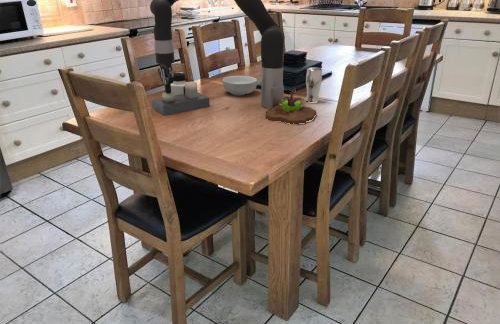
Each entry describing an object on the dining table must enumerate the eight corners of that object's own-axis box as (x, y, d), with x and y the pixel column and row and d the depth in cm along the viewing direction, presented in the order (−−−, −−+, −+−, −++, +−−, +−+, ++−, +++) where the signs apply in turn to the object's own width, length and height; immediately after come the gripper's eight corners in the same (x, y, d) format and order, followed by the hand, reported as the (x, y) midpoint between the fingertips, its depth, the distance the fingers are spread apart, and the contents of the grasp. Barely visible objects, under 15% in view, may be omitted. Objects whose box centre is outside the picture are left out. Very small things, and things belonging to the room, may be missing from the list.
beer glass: (302, 102, 184) (304, 69, 178) (307, 98, 190) (309, 66, 184) (317, 104, 182) (319, 71, 175) (322, 100, 187) (324, 68, 181)
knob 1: (177, 109, 174) (176, 93, 171) (166, 111, 172) (165, 95, 169) (172, 106, 178) (171, 91, 175) (161, 108, 175) (159, 92, 173)
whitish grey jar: (199, 98, 179) (199, 83, 176) (189, 100, 176) (188, 85, 173) (194, 95, 183) (193, 81, 180) (183, 97, 180) (182, 82, 177)
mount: (209, 106, 179) (209, 97, 178) (163, 115, 168) (162, 106, 166) (196, 100, 188) (196, 91, 186) (152, 108, 177) (151, 99, 175)
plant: (323, 114, 170) (325, 88, 166) (303, 128, 155) (305, 99, 150) (280, 107, 180) (281, 82, 175) (258, 119, 164) (258, 92, 160)
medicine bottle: (184, 101, 187) (182, 75, 182) (170, 100, 188) (167, 74, 183) (189, 96, 193) (188, 71, 188) (175, 96, 195) (173, 71, 189)
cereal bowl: (242, 100, 188) (242, 85, 185) (215, 94, 197) (215, 80, 194) (263, 92, 200) (264, 78, 197) (237, 87, 209) (237, 73, 206)
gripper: (180, 52, 162) (183, 94, 169) (166, 48, 171) (169, 88, 179) (162, 54, 158) (166, 97, 165) (149, 49, 167) (153, 90, 175)
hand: (168, 92), depth 172 cm, fingers closed
